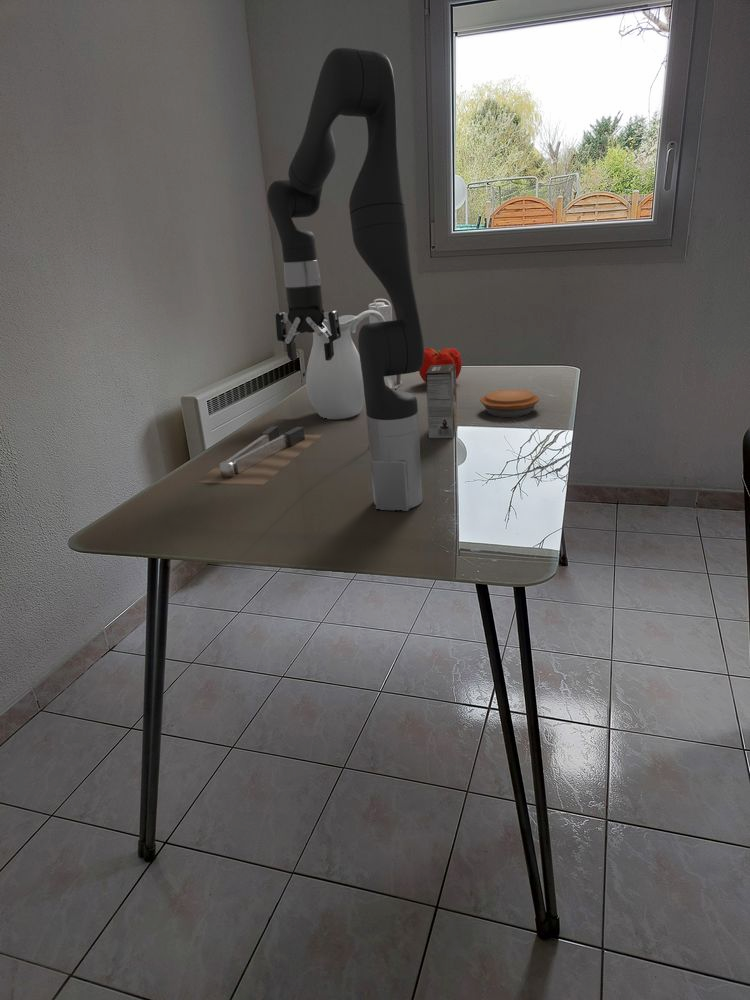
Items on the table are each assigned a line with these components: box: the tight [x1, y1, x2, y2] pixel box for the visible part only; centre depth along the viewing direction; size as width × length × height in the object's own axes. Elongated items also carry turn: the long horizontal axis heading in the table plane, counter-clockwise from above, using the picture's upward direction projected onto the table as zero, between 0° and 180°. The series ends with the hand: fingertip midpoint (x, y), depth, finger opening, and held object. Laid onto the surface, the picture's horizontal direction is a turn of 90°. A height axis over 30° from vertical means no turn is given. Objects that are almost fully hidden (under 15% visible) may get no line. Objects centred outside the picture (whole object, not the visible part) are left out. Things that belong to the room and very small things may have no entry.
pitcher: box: [305, 309, 385, 420], centre depth 184 cm, size 24×17×28 cm
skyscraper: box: [368, 298, 403, 390], centre depth 210 cm, size 8×8×28 cm
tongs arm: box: [233, 426, 306, 473], centre depth 153 cm, size 25×2×3 cm, turn 152°
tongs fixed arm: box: [219, 425, 280, 479], centre depth 153 cm, size 28×3×3 cm, turn 163°
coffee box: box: [425, 364, 459, 439], centre depth 162 cm, size 9×6×16 cm
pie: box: [479, 389, 540, 418], centre depth 177 cm, size 16×16×5 cm
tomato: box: [418, 347, 463, 384], centre depth 211 cm, size 13×14×12 cm
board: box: [194, 433, 323, 486], centre depth 153 cm, size 34×16×2 cm, turn 163°
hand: (311, 359), depth 148 cm, fingers open, 8 cm apart
